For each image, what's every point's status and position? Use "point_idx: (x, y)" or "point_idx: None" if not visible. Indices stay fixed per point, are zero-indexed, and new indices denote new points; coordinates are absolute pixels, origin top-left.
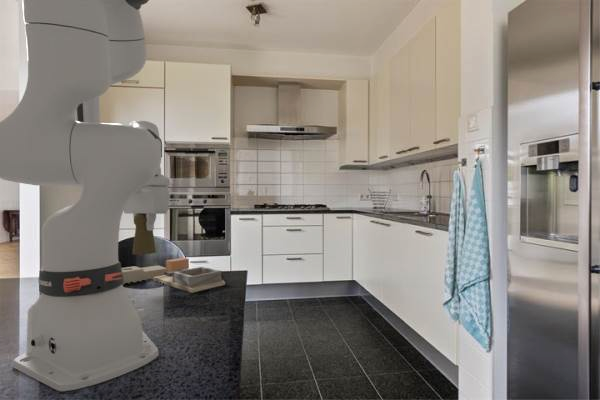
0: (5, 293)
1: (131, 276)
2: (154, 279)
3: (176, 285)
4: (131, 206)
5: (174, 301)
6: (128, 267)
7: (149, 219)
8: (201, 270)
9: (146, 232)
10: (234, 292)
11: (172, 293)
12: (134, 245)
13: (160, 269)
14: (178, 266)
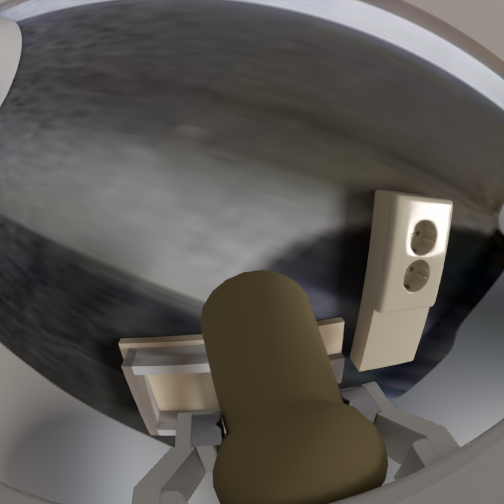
0: (460, 31)
1: (376, 269)
2: (334, 320)
3: (198, 338)
4: (493, 490)
5: (74, 275)
6: (433, 283)
7: (146, 482)
8: None
9: (219, 401)
10: (75, 389)
11: (147, 303)
12: (261, 298)
13: (363, 354)
14: None
